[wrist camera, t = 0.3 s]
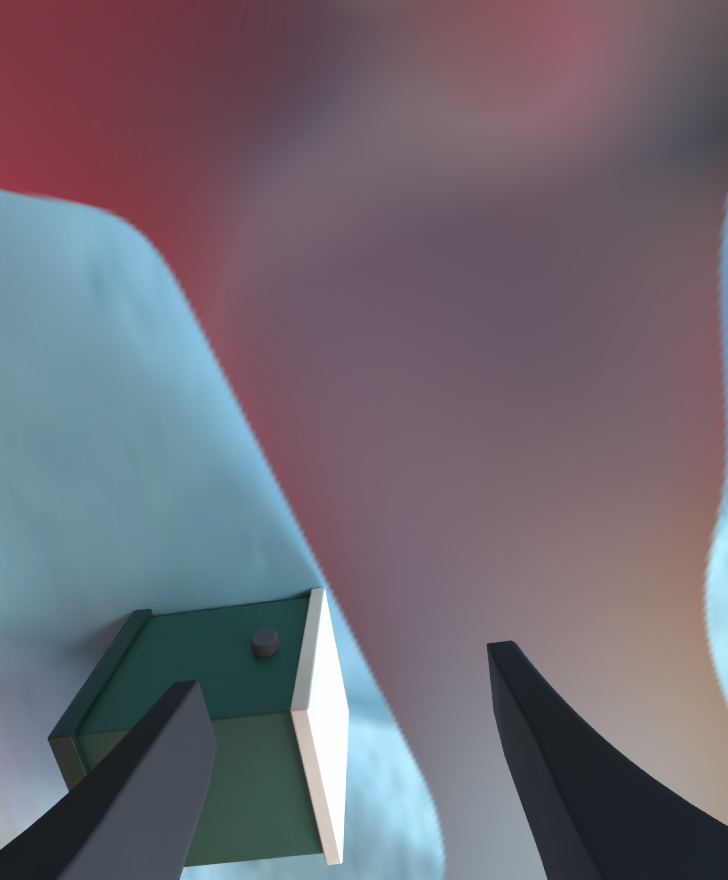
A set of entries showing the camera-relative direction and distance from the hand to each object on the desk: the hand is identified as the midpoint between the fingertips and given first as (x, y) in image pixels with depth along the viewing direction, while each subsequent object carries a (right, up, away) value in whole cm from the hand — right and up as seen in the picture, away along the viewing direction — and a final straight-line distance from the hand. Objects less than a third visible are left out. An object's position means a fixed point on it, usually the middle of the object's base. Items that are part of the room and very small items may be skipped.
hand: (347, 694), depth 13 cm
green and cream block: (-5, -4, +12) cm, 13 cm away
